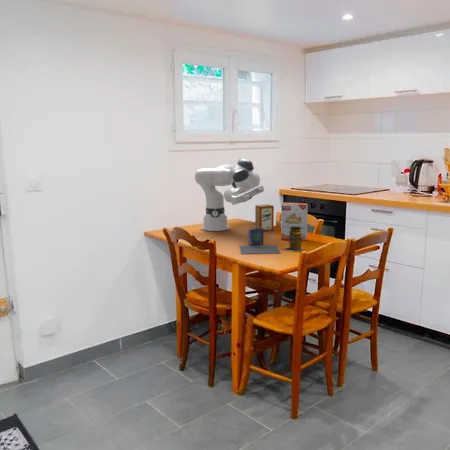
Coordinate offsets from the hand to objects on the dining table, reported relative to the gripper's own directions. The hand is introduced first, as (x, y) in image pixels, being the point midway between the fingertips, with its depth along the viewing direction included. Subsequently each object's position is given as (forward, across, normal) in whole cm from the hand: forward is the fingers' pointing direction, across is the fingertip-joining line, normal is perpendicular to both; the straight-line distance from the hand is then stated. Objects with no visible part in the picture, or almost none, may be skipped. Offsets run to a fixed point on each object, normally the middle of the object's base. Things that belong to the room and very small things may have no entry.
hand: (255, 193), depth 264 cm
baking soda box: (-26, -15, -29) cm, 42 cm away
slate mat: (+15, +19, -25) cm, 35 cm away
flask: (+6, +14, -25) cm, 29 cm away
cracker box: (+6, -11, -33) cm, 35 cm away
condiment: (+24, +5, -31) cm, 40 cm away
